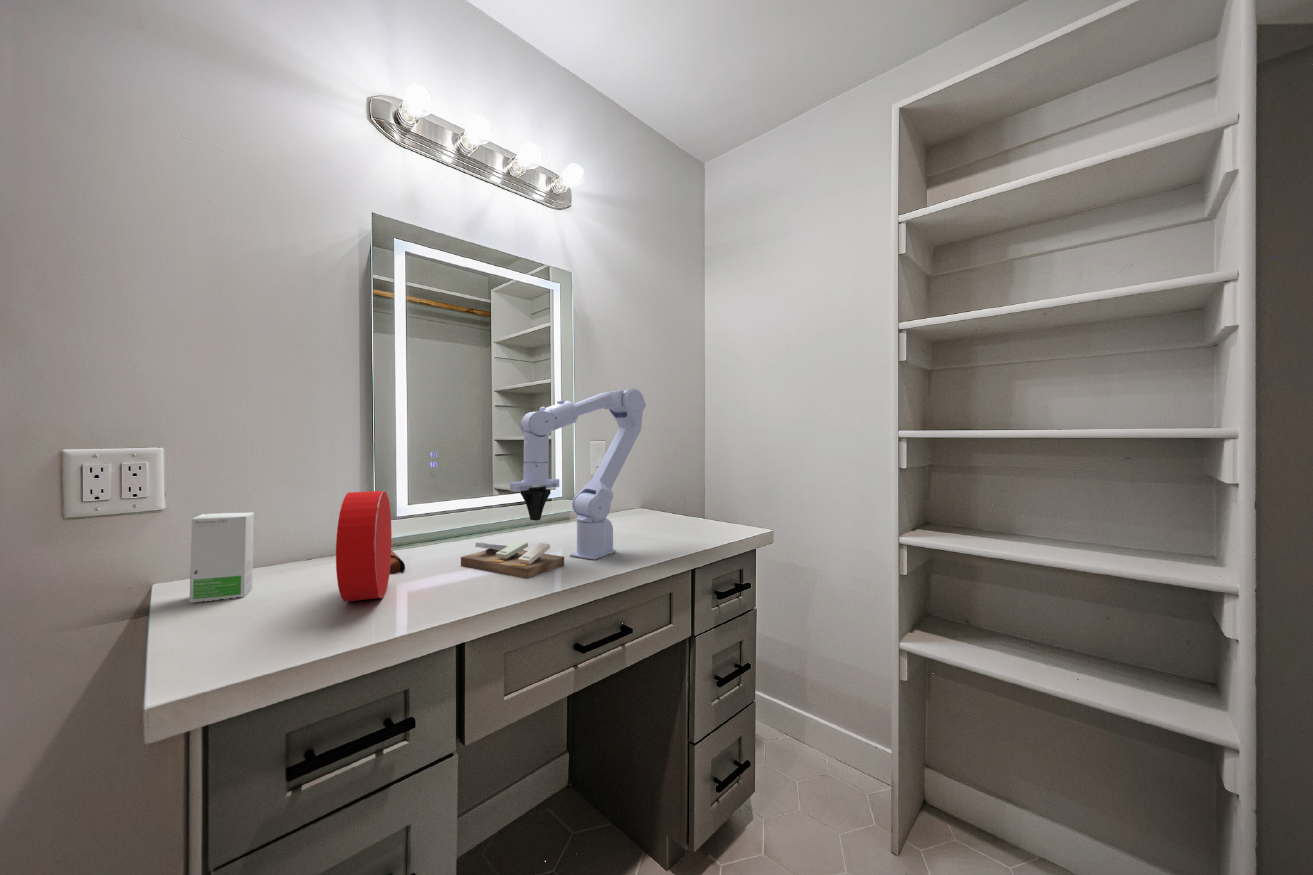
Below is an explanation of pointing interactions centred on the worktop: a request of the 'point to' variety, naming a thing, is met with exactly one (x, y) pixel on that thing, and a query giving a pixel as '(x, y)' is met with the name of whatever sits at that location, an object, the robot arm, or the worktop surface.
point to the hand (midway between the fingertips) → (535, 519)
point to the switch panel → (511, 563)
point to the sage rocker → (512, 549)
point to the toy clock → (363, 545)
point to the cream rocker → (534, 553)
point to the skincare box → (221, 556)
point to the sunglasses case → (396, 564)
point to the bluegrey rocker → (490, 546)
